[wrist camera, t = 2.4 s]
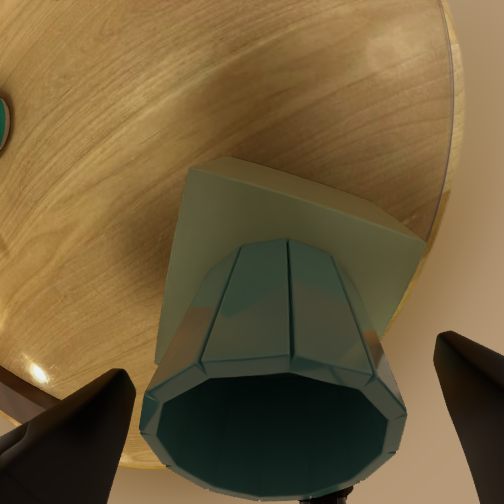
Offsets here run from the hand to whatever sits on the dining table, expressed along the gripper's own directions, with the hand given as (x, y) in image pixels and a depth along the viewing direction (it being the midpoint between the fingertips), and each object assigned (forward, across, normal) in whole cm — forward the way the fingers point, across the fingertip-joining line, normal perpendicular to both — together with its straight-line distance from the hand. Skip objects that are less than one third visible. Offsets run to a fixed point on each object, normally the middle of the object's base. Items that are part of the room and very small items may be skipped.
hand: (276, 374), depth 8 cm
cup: (+3, 0, 0) cm, 3 cm away
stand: (+10, 0, 0) cm, 10 cm away
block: (+10, +32, +14) cm, 36 cm away
